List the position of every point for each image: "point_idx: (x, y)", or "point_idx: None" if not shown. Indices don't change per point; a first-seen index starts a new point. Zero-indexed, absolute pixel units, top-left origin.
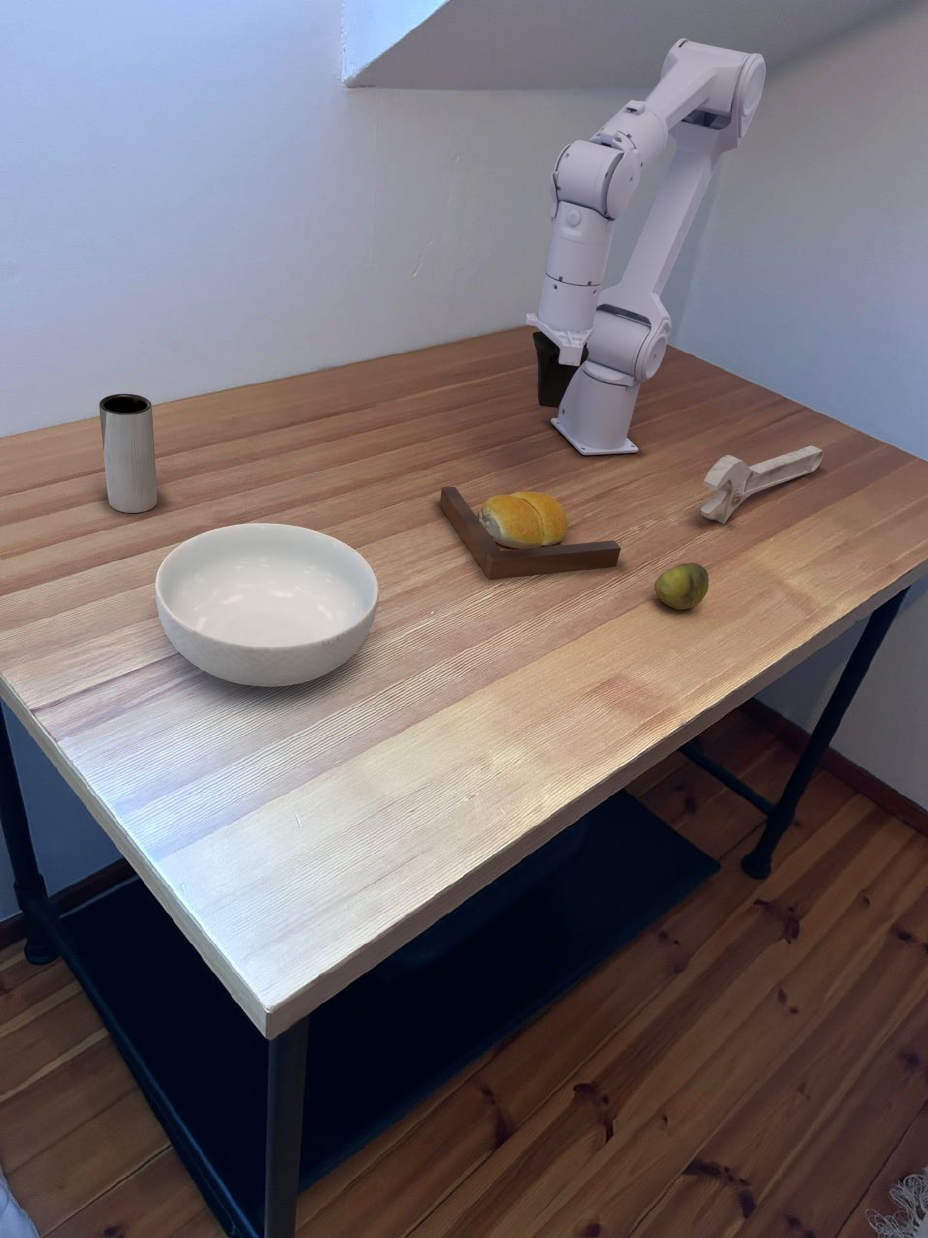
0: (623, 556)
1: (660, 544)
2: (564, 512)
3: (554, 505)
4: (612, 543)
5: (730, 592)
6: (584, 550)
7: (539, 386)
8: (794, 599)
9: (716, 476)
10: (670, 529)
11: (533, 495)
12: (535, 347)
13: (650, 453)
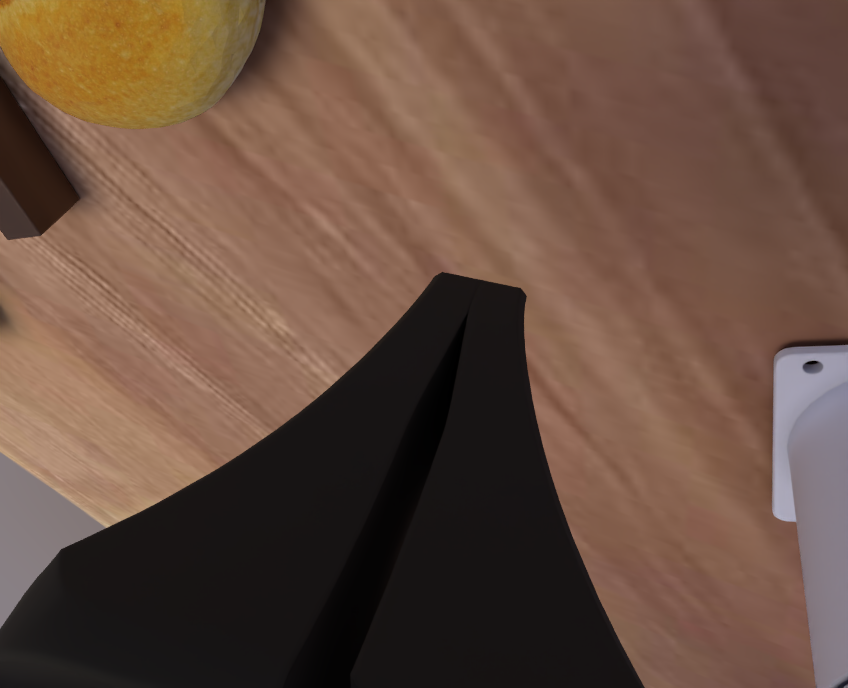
0: (112, 241)
1: (215, 352)
2: (101, 123)
3: (60, 90)
4: (18, 224)
5: (72, 402)
6: None
7: (378, 346)
8: (106, 486)
9: None
10: (302, 402)
11: (90, 12)
12: (73, 601)
13: (771, 534)
